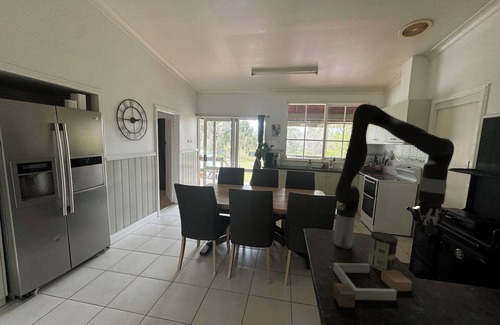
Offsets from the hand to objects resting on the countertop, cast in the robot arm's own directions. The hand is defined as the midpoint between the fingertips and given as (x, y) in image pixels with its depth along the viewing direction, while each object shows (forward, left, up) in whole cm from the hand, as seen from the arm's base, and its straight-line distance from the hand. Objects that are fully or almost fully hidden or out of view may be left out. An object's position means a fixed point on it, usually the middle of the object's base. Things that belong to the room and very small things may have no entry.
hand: (425, 232), depth 79 cm
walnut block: (+9, -36, -22) cm, 43 cm away
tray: (0, -24, -22) cm, 32 cm away
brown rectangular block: (0, -10, -22) cm, 24 cm away
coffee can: (-13, -6, -22) cm, 27 cm away
